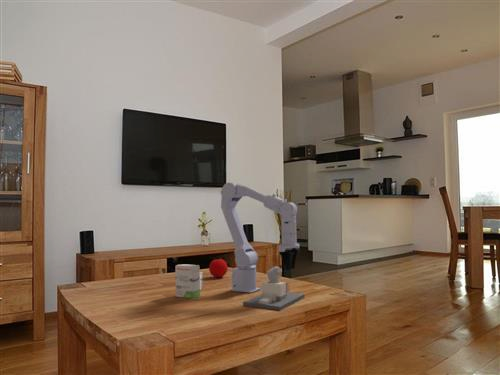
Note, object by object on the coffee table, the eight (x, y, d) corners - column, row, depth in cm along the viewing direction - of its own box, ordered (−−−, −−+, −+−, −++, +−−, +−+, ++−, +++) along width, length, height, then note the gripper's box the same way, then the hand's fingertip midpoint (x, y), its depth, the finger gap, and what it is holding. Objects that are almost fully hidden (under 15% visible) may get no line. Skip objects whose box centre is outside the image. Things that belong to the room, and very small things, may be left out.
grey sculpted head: (281, 283, 161) (281, 267, 161) (265, 283, 162) (265, 267, 163) (283, 281, 167) (282, 265, 167) (267, 280, 168) (267, 265, 169)
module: (261, 298, 129) (261, 281, 130) (266, 296, 133) (266, 279, 133) (280, 300, 125) (280, 283, 126) (285, 298, 129) (285, 281, 129)
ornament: (210, 279, 174) (209, 258, 174) (208, 276, 183) (208, 256, 183) (229, 278, 176) (228, 257, 176) (226, 275, 184) (226, 255, 185)
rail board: (243, 305, 125) (242, 296, 125) (270, 293, 142) (270, 285, 142) (280, 310, 118) (280, 300, 118) (304, 297, 135) (304, 289, 135)
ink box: (200, 296, 140) (200, 264, 141) (192, 299, 136) (192, 266, 136) (183, 293, 144) (183, 263, 145) (174, 296, 140) (174, 265, 141)
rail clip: (276, 290, 136) (276, 282, 136) (278, 289, 138) (278, 281, 138) (287, 291, 134) (286, 283, 134) (289, 290, 135) (289, 282, 136)
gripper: (290, 234, 134) (291, 272, 133) (305, 232, 147) (306, 267, 146) (273, 234, 138) (274, 271, 137) (289, 232, 150) (290, 265, 149)
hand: (289, 269), depth 142 cm, fingers open, 3 cm apart
